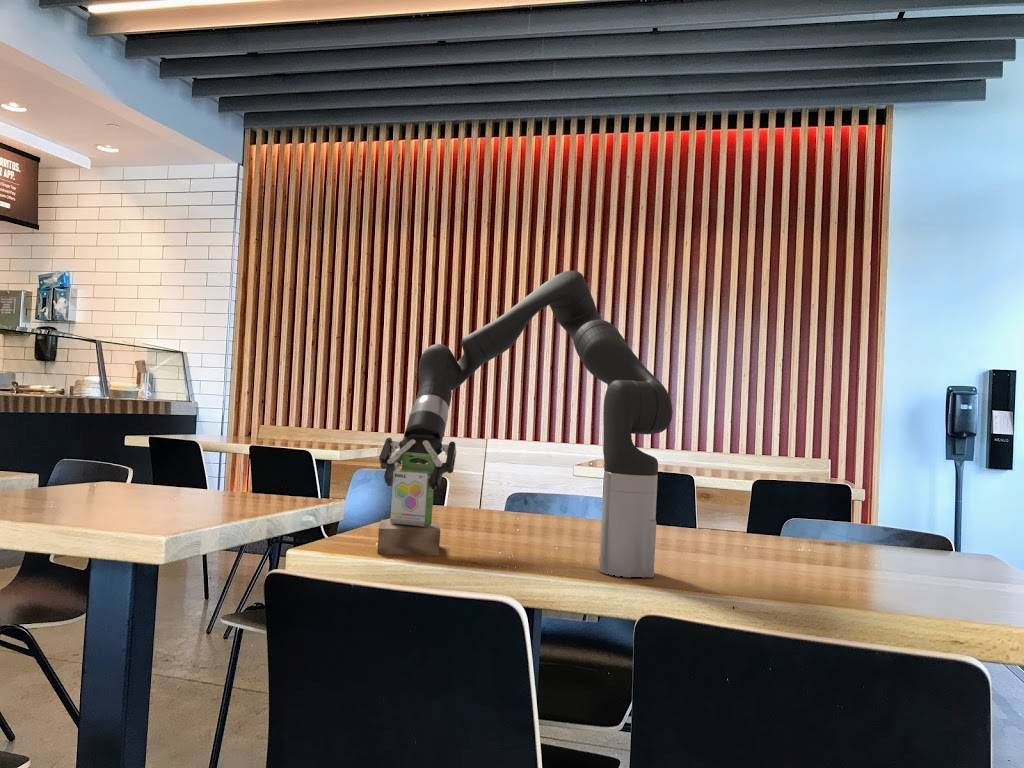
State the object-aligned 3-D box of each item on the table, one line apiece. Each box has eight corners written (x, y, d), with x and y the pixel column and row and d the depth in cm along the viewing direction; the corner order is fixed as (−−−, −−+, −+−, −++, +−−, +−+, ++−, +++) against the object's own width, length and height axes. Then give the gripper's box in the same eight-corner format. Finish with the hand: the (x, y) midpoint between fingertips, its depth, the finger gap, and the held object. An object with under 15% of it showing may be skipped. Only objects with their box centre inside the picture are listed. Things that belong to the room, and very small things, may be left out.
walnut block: (436, 548, 156) (438, 522, 157) (438, 558, 145) (440, 530, 146) (379, 545, 155) (381, 519, 155) (377, 556, 144) (378, 528, 144)
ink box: (388, 523, 150) (394, 451, 150) (397, 521, 153) (403, 451, 154) (423, 527, 148) (429, 454, 148) (431, 525, 152) (437, 454, 152)
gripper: (463, 437, 163) (450, 500, 151) (395, 433, 164) (376, 495, 153) (461, 411, 158) (446, 474, 146) (390, 407, 159) (370, 469, 148)
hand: (410, 484), depth 149 cm, fingers open, 8 cm apart
